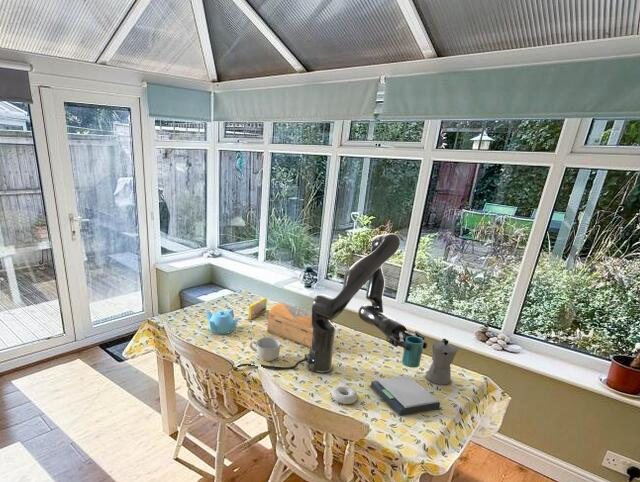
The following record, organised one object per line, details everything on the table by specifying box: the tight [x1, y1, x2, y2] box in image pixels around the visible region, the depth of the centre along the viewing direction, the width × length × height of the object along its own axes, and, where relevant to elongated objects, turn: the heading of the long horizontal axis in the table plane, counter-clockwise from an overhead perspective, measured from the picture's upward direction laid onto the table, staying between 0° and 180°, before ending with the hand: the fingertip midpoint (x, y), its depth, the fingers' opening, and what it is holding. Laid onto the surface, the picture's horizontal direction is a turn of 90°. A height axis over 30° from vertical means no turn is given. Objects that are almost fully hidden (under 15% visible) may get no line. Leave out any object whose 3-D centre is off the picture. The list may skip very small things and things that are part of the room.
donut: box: [330, 385, 359, 405], centre depth 158 cm, size 10×3×10 cm
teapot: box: [205, 308, 239, 336], centre depth 213 cm, size 15×15×11 cm
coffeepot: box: [426, 338, 459, 385], centre depth 170 cm, size 15×9×18 cm, turn 159°
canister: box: [401, 336, 425, 369], centre depth 155 cm, size 6×6×10 cm
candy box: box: [248, 297, 268, 321], centre depth 233 cm, size 16×2×8 cm, turn 147°
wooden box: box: [266, 302, 334, 348], centre depth 208 cm, size 30×16×14 cm, turn 48°
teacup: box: [249, 336, 281, 362], centre depth 186 cm, size 14×11×8 cm
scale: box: [370, 374, 441, 416], centre depth 159 cm, size 17×20×3 cm
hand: (417, 347), depth 152 cm, fingers closed on canister, 6 cm apart
